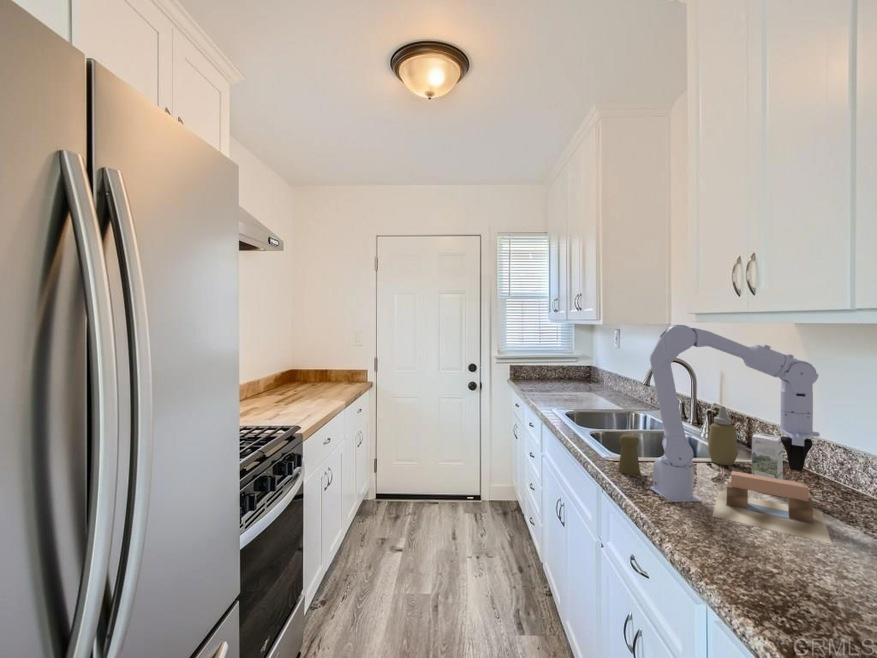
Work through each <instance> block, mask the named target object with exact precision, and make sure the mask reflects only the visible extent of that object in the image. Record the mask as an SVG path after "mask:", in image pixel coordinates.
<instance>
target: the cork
mask: <svg viewBox="0 0 877 658" xmlns="http://www.w3.org/2000/svg"><path fill="white" fill-rule="evenodd" d="M619 442H620V445H621V446H620V447H621V448H620V449H621V450H620V456H619V462H618V468H617V469H618V472H619V473H620V474H625V475H628V476H629V475H630V476H636V475H637V476H638V475H640V474H641V468H640V462H639V456H638V454H639V453H638V448H637V447H638V446H639V438H638V437H637V436H636V435H634V434H629V433H627V434H626V433H624V434H622V435H620V437H619Z"/></svg>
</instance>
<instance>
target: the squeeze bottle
mask: <svg viewBox="0 0 877 658" xmlns="http://www.w3.org/2000/svg"><path fill="white" fill-rule="evenodd" d="M732 421H733V420H732V418H730V417H728V414H727V409H726V407H725V406H723V405H722V406H720V407H719V410H718V414H717V416H714V417H713V423H711V424H710V426H709V435H708V443H707V451H708V456H709V458H710V460H711V462H712V463H714V464H717V465H720V466H734V464H735V462H736V459H737V458H738V455H739V450H738V440H737V431H736V427H735V426H734V425H732V424H733V423H732Z"/></svg>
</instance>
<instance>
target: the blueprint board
mask: <svg viewBox="0 0 877 658" xmlns="http://www.w3.org/2000/svg"><path fill="white" fill-rule="evenodd" d="M748 491H749V490H745V489H740V488H735V487H731V481H727V485H726V492H724V491H718V493H717V497H716V500H715V504H714V508H713V512H712V517H713V518H716V519H717V518H718V519H722V520H725V521H726V520H727V521H730V522H736V523H738V524H739V523H740V524H743V525H748V526H752V527H757V528H760V529H761V528H762V529H764V530H770V531H773V532H777V533H782V534H786V535H789V536H793V537H800V538H803V539H808V540H812V541H815V542H816V541H817V542H821V543H825V544H829V545H832V544H833V543H832V540H831V537H830V534H829V530H828V527H827V524H826V521H825V517H824V514H823V511H818V510H814V501H813V499H812V497H810V496H808V501H803V500H798V499H792V498H788V502H787V503H788V504H785V503H780V502H773V501H770V500H766V499H759V498H754V497H749V495H748V494H749V492H748Z"/></svg>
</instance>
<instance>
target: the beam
mask: <svg viewBox="0 0 877 658" xmlns="http://www.w3.org/2000/svg"><path fill="white" fill-rule="evenodd" d="M730 474H731V475H730V478H731V479H730V482H731V487H735V488H740V489H745V490H748V491H750V492H758V493H761V494H766V495H767V494H768V495H771V496H772V495H773V496H778V497H783V498H792V499H798V500H803V501H808V497H809V486H808V483H804V482H799V481H792V480H787V479H776V478H770V477H764V476H759V475H753V474H752V473H746V472H739V471H734V470H731V473H730Z"/></svg>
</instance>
